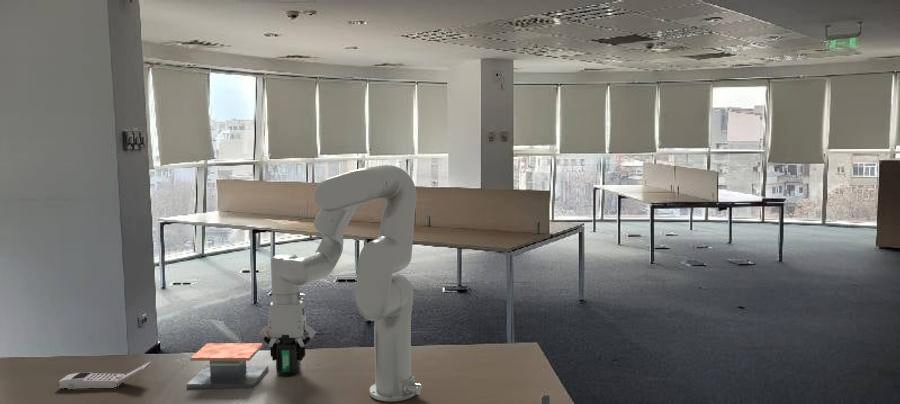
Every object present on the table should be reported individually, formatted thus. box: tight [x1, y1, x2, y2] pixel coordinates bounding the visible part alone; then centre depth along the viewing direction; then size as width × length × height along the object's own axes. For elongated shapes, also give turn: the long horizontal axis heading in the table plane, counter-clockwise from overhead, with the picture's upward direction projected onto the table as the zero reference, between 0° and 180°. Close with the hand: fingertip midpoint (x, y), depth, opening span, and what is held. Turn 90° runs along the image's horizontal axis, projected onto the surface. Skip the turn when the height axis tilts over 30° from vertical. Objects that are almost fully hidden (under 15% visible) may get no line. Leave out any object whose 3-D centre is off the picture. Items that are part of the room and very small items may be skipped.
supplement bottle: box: [275, 335, 302, 378], centre depth 191 cm, size 7×7×12 cm
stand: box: [186, 342, 269, 390], centre depth 188 cm, size 18×14×8 cm
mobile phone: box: [58, 361, 152, 390], centre depth 184 cm, size 6×6×25 cm
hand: (288, 358), depth 192 cm, fingers closed on supplement bottle, 6 cm apart
